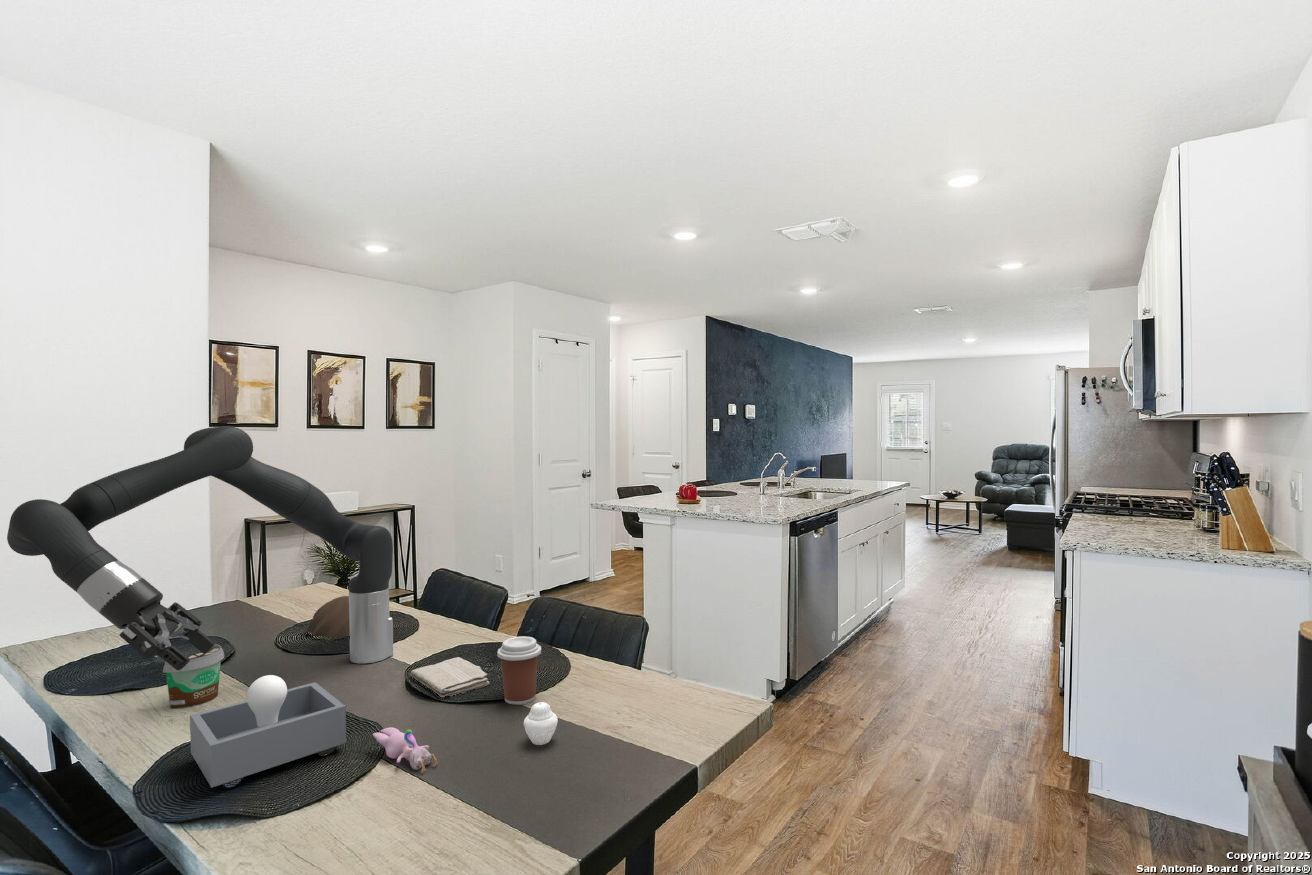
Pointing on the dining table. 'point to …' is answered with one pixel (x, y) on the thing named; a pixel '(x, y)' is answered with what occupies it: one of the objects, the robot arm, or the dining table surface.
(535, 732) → the white lidded jar
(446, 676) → the washcloth
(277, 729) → the grey open box
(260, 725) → the lightbulb
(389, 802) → the dining table surface
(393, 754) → the pink toy animal
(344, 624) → the decorative dome
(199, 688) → the food container
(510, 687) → the coffee cup
